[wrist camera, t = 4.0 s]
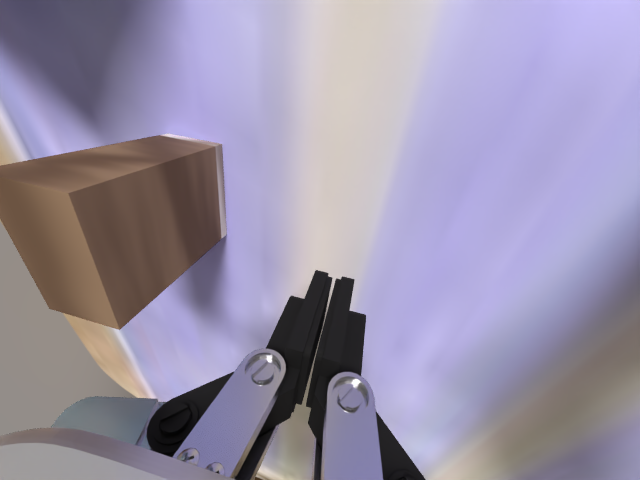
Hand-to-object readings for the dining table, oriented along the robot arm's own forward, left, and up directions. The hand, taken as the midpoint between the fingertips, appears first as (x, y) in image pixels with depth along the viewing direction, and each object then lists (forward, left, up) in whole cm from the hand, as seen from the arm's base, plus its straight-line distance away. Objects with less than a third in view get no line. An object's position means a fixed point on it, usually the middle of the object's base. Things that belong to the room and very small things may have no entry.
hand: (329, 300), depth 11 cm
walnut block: (+11, 0, -8) cm, 14 cm away
